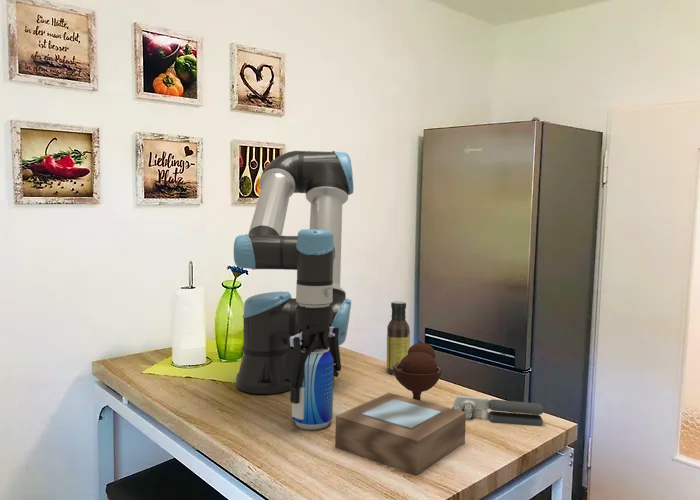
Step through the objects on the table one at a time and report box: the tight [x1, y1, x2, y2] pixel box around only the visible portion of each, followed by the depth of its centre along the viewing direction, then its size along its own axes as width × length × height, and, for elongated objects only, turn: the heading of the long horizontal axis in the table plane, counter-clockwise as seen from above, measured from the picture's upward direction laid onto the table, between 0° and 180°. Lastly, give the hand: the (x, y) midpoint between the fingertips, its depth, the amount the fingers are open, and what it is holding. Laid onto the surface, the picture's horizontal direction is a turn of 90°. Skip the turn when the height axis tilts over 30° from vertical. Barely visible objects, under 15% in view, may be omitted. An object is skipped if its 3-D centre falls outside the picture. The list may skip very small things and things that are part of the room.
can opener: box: [451, 395, 544, 427], centre depth 126 cm, size 19×6×5 cm, turn 76°
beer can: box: [291, 347, 335, 431], centre depth 120 cm, size 8×8×16 cm
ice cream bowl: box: [393, 342, 443, 401], centre depth 130 cm, size 11×11×15 cm
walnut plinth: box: [334, 392, 467, 476], centre depth 111 cm, size 18×18×6 cm
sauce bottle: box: [386, 300, 411, 377], centre depth 157 cm, size 6×6×20 cm
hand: (312, 411), depth 121 cm, fingers closed on beer can, 8 cm apart
